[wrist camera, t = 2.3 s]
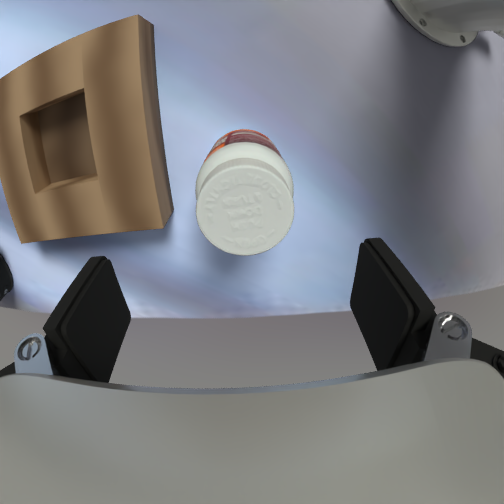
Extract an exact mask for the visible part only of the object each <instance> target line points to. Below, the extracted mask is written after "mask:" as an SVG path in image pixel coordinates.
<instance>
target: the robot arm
mask: <svg viewBox="0 0 504 504" xmlns="http://www.w3.org/2000/svg"><path fill="white" fill-rule="evenodd" d="M392 2H393V3H394V5H395V6H396V8H397V9H398V10H399V11H400V13H401V14H402V15H403V16H404V18H405V19H406V20H407V21H408V22H409V23H410V24H411V25H412V26H413V27H414V28H416V29H417V30H418V31H419V32H421V33H422V34H423V35H425V36H426V37H428V38H429V39H431V40H433V41H435V42H437V43H439V44H442V45H445V46H450V47H459V46H465V45H468V44H470V43H471V42H472V41H473V40H474V39H475V37H476V36H477V33H478V31H493V32H495V33H496V34H498V35H499V36H501V37H502V38H504V0H392ZM350 306H351V309H352V311H353V314H354V316H355V318H356V320H357V323H358V325H359V327H360V330H361V332H362V334H363V337H364V339H365V342H366V344H367V346H368V349H369V351H370V354H371V356H372V358H373V361H374V363H375V366H376V368H377V371H375V372H370V373H364V374H358V375H353V376H347V377H341V378H335V379H329V380H322V381H314V382H307V383H298V384H288V385H277V386H264V387H249V388H223V389H222V388H221V389H188V388H187V389H185V388H161V387H144V386H132V385H122V384H112V383H109V380H110V377H111V374H112V371H113V367H114V365H115V362H116V359H117V356H118V353H119V350H120V347H121V345H122V342H123V339H124V337H125V334H126V331H127V329H128V326H129V323H130V320H131V315H130V311H129V309H128V306H127V304H126V301H125V299H124V296H123V293H122V291H121V288H120V285H119V283H118V280H117V277H116V274H115V272H114V269H113V266H112V263H111V261H110V260H109V259H108V260H107V258H106V257H105V256H98V257H91V258H90V259H89V260H88V262H87V263H86V264H85V266H84V267H83V268H82V270H81V271H80V272H79V274H78V275H77V277H76V278H75V279H74V281H73V282H72V284H71V285H70V286H69V288H68V289H67V291H66V292H65V294H64V295H63V297H62V298H61V300H60V301H59V303H58V304H57V306H56V307H55V309H54V310H53V312H52V314H51V315H50V317H49V318H48V320H47V322H46V323H45V325H44V327H43V330H44V331H45V333H46V336H45V338H44V337H43V336H42V335H41V334H37V333H36V334H31V335H28V336H26V337H25V338H23V339H22V340H21V341H20V342H19V344H18V345H17V347H16V349H15V352H14V360H15V362H13V363H12V364H10V365H8V366H7V367H5V368H3V369H2V370H0V504H504V351H502V350H499V349H497V348H494V347H492V346H490V345H487V344H485V343H483V342H481V341H478V340H476V339H473V338H472V330H471V327H470V325H469V323H468V322H467V321H466V319H464V318H463V317H462V316H460V315H458V314H456V313H452V312H443V313H440V314H438V315H437V314H436V313H435V311H434V309H435V306H434V305H433V304H432V302H431V301H430V299H429V298H428V297H427V295H426V294H425V292H424V291H423V290H422V288H421V287H420V286H419V284H418V283H417V282H416V281H415V279H414V278H413V277H412V275H411V274H410V273H409V271H408V270H407V269H406V268H405V266H404V265H403V264H402V263H401V261H400V260H399V259H398V258H397V257H396V255H395V254H394V253H393V252H392V250H391V249H390V248H389V247H388V246H387V245H386V243H385V242H384V241H383V240H382V239H381V238H368V239H365V241H364V243H361V244H360V248H359V254H358V260H357V266H356V272H355V278H354V283H353V288H352V293H351V298H350Z"/></svg>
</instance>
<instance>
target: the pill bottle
mask: <svg viewBox="0 0 504 504" xmlns="http://www.w3.org/2000/svg"><path fill="white" fill-rule="evenodd" d="M195 191H196V199H197V203H196V217H197V222H198V225H199V227H200V230H201V231H202V233H203V234H204V236H205V237H206V238H207V239H208V240H209V242H211V243H212V244H213V245H214V246H216V247H217V248H219V249H221V250H223V251H225V252H228V253H231V254H235V255H244V256H246V255H255V254H259V253H262V252H265V251H267V250H269V249H271V248H273V247H274V246H276V245H277V244H278V243H279V242H280V241H281V240H282V239H283V238H284V237H285V236H286V234H287V233H288V231H289V229H290V227H291V225H292V222H293V217H294V203H293V180H292V176H291V173H290V171H289V169H288V167H287V165H286V163H285V161H284V160H283V158H282V156H281V155H280V153H279V151H278V150H277V148H276V147H275V145H274V144H273V143H272V141H271V140H270V139H269V138H267V137H266V136H265V135H263V134H261V133H259V132H257V131H254V130H249V129H240V130H235V131H232V132H229V133H227V134H225V135H224V136H222V137H221V138H220V139H219V140H218V141H217V142H216V143H215V144H214V146H213V147H212V149H211V151H210V152H209V154H208V156H207V158H206V159H205V161H204V163H203V165H202V167H201V169H200V171H199V174H198V176H197V180H196V190H195Z"/></svg>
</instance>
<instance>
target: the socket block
mask: <svg viewBox="0 0 504 504" xmlns="http://www.w3.org/2000/svg"><path fill="white" fill-rule="evenodd" d="M0 179H1V183H2V186H3V190H4V194H5V197H6V201H7V204H8V207H9V210H10V214H11V217H12V220H13V222H14V225H15V228H16V231H17V234H18V236H19V239H20V241H21V244H22V243H29V242H37V241H45V240H53V239H61V238H70V237H79V236H88V235H98V234H108V233H118V232H128V231H139V230H150V229H162V228H164V227H165V225H166V223H167V221H168V219H169V217H170V216H171V214H172V212H173V210H174V207H173V202H172V196H171V190H170V184H169V177H168V171H167V164H166V157H165V150H164V142H163V135H162V126H161V118H160V109H159V99H158V88H157V76H156V62H155V45H154V25H153V24H151V23H150V22H149V21H147V20H146V19H144V18H143V17H141V16H140V15H134V16H131V17H128V18H124V19H121V20H118V21H115V22H112V23H109V24H106V25H104V26H101V27H98V28H96V29H93V30H90V31H88V32H85V33H83V34H81V35H78V36H76V37H74V38H72V39H69V40H67V41H65V42H63V43H61V44H59V45H57V46H55V47H53V48H51V49H49V50H47V51H45V52H43V53H41V54H40V55H38V56H36V57H34V58H32V59H31V60H29V61H27V62H26V63H24V64H22V65H21V66H19V67H17V68H16V69H14V70H13V71H11V72H10V73H8V74H7V75H5V76H4V77H2V78H1V79H0Z"/></svg>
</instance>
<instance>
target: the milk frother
mask: <svg viewBox="0 0 504 504" xmlns="http://www.w3.org/2000/svg"><path fill="white" fill-rule="evenodd" d="M12 287H13V280H12V276H11V273H10V270H9V268H8V266H7V264H6V262H5V261H4V259H3V258H2V256H1V255H0V301H1V299H2V298H3V297H4V296H5V295H6V294H7V293H8V292H10V291H11V289H12Z"/></svg>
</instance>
